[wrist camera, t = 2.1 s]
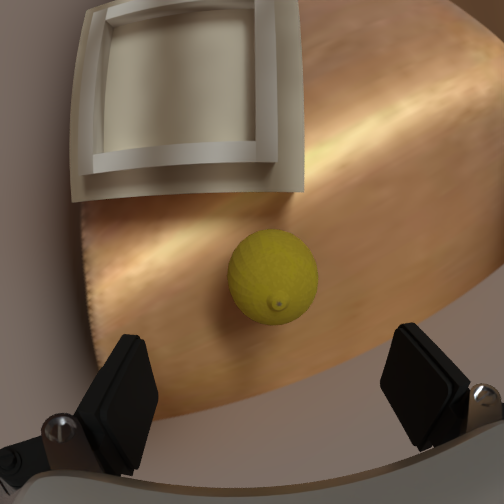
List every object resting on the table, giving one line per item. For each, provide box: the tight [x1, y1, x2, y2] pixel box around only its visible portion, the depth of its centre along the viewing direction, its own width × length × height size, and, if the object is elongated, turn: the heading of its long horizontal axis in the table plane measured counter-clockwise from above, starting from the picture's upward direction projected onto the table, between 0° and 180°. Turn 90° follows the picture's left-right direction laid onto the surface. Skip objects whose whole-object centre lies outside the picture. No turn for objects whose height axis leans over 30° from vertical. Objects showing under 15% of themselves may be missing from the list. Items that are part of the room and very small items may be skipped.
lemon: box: [227, 229, 318, 325], centre depth 17 cm, size 6×6×8 cm
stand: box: [70, 0, 304, 203], centre depth 15 cm, size 16×16×4 cm
